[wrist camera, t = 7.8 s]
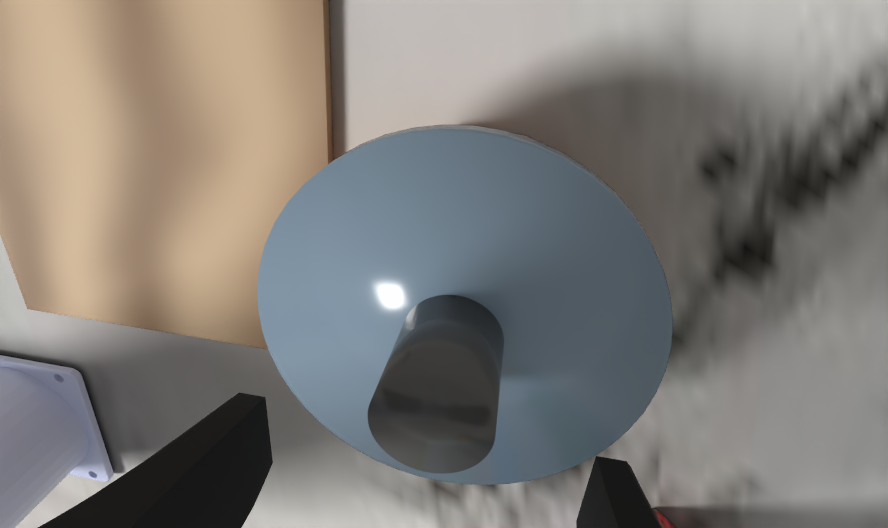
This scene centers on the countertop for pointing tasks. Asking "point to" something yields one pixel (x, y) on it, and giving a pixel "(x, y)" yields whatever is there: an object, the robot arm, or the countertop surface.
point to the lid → (465, 305)
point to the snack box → (662, 520)
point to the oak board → (157, 153)
